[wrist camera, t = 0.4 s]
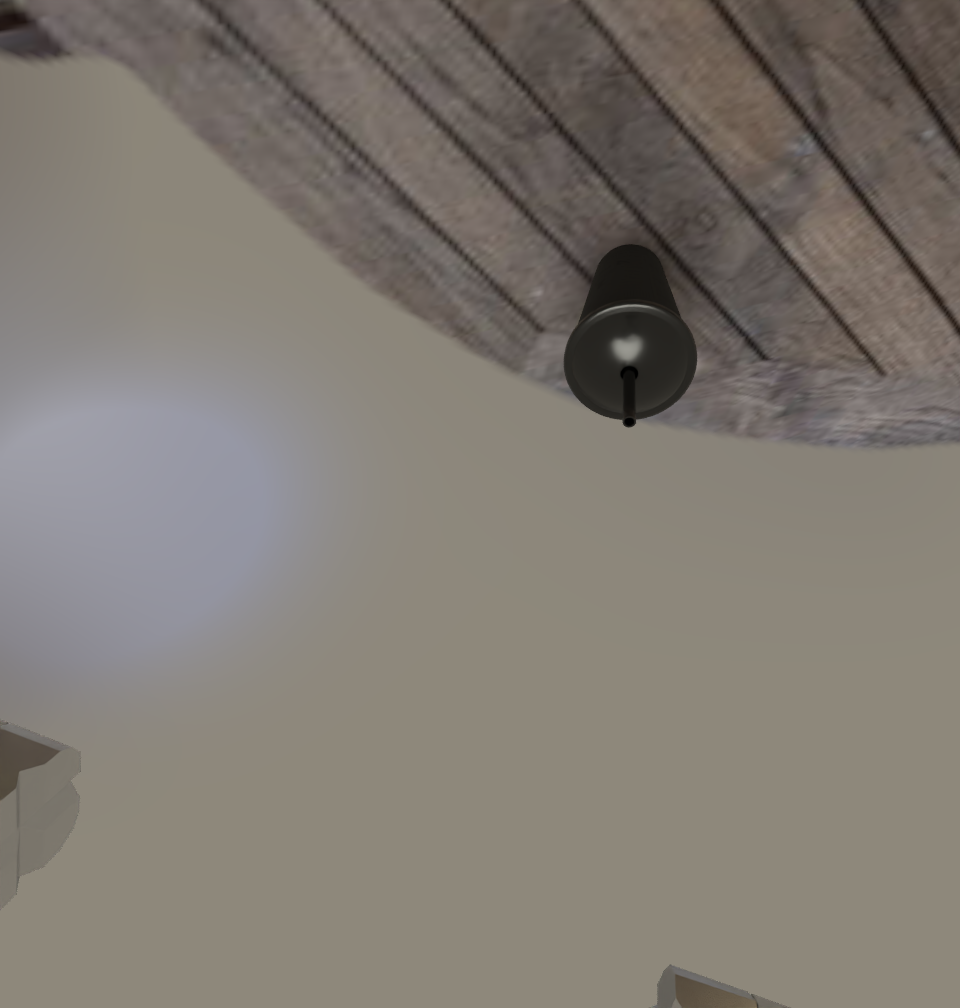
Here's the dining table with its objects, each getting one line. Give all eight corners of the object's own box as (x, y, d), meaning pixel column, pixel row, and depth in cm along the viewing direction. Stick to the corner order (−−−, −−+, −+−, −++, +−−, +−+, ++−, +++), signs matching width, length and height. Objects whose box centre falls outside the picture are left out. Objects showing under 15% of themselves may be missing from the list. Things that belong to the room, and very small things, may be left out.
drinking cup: (704, 251, 52) (736, 392, 36) (649, 341, 56) (657, 501, 41) (606, 205, 51) (596, 330, 35) (559, 301, 56) (532, 448, 40)
